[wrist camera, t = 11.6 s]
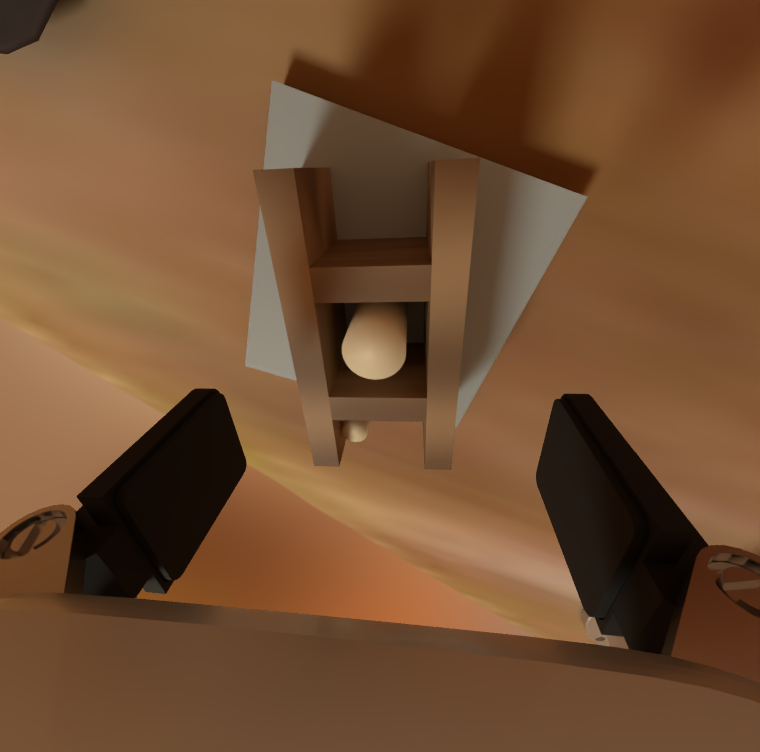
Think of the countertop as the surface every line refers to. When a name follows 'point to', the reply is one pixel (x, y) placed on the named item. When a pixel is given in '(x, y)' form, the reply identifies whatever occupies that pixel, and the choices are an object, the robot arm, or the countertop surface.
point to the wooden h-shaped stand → (372, 284)
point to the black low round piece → (23, 22)
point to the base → (402, 220)
